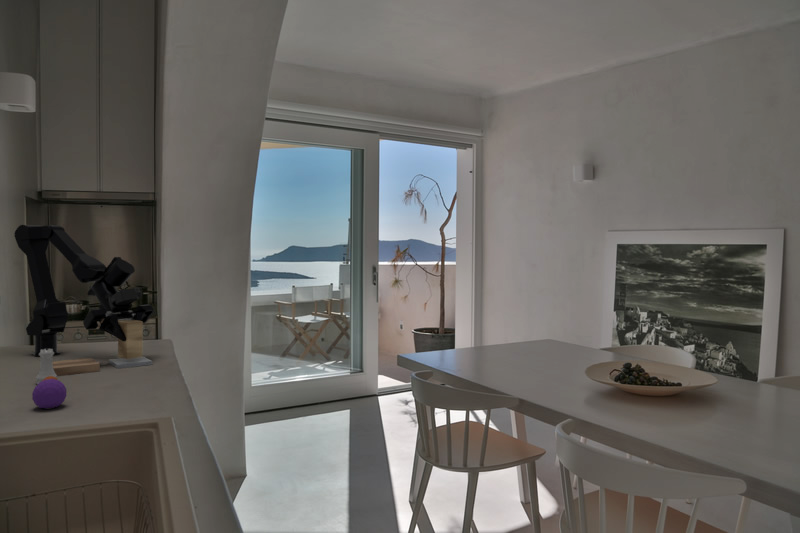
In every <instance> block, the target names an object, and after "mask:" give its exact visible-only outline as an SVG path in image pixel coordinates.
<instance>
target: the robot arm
mask: <svg viewBox="0 0 800 533" xmlns="http://www.w3.org/2000/svg"><path fill="white" fill-rule="evenodd" d="M14 238H15V241H16V244H17V247H18V248H19V249H20V250H21V251H22V252H23V253H24V255H26V260H27V263H28V267H29V273H30V277H31V282H32V286H33V290H34V294H35V299H36V303H35V305H34V308H33V311H32V314H33V319H32V320H31V322H30V323H29V324H28V325H27V327H26V328H25V330H26V335H27V336H33V337H34V351H32V352H31V354H32V355H33V356H34V357H40V356H39V353H40V350H41V349H46V350H48V349H50V350H51V349H53V352H54V355H61V352H60V351H59V350H58V334H59V333H64V331H65V329H66V325H67V323H68V321H69V320H68V316H69V312H68V311H67V304H66V303H65V302H64V301H61V302H60V300H58V298H57V296H56V292H55V288H54V283H53V279H52V275H51V270H50V266H49V262H48V257H47V251H48V248H49V245H50V243H51V244H52V245H53V247H55V248H56V249H57V250H58V251H59V252H60V254H62V256H63V257H64V258H65V259H66V260H67V261H68V262H69V264H70V265H71V267H72V268H71V269H72V273H73V274H74V276H75V277H76V279H77V280H78V281H79V282H80V283H82V284H86V283H87V284H88V283H93V284H92V285H91V286H89V289H88V291H87V296H91V297H92V296H93V297H95V298H96V299H97V301H98V303H99V305H98V308H94V309H90V310H89V312H88V314H87V315H86V317H85V318H84V319H83V321H82V322H83V324H82V325H83V326H84V328H85V330H96V329H97V328H98V326H99V325H100V326H99V328H98V329H99V331H104V333H107V334H110V335H112V336H113V337H115V338H117V340H118V339H120V340H122V341H124V342H125V341H126V336H125V334H124V332H123V330H122V328H121V327H120V325H119V323H118V321H125V320H126V321H128V320H137V321H143V324H146V323H147V322H148V321H149V319H150V318H151V316H152V315H153V313H154V312H155V311H156V310H155V308H154V307H153V306H152V305H151V304H143V305H141V304H140V305H137V306H136V308H135V309H134V310H130V309H132V307H133V303H134V302H135V301H138V300H139V299H141V298H142V297H143V293H142V290H141V289H140V288H139V287H132V288H124V289H120V290H118V288H117V287H122V286H124V284H126V282H127V281H128V280H129V279H130V278H131V277H132V276H133V275H134V273H135V271H136V269H135V267H134V265H133V264H131V263H130V262H128V261H127V260H124V259H122V258H121V256H114V257H113V258H112V260H111V262H110V263H109V264H108V265H107V266H106V264H104V263H102V261H100V260H98V259H97V258H95V257H93V256H90V255H88V254H87V253H86V252H85V250H83V249H82V248H81V247H80V245H78V243H76V241H74V239H73V238H72V237H71V236H70V235H69V234H68V233H67V232H66V230H65V228H64V227H63V226H61V225H53V224H47V225H39V224H37V225H36V224H35V225H33V224H20V225H18V227H17V228H16V230H15V231H14ZM98 322H99V324H98ZM54 355H53V356H54Z"/></svg>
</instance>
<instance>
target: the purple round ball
mask: <svg viewBox="0 0 800 533" xmlns="http://www.w3.org/2000/svg"><path fill="white" fill-rule="evenodd" d="M31 396H32V398H31V399H32V401H33V403H34V405H35V406H37V407H38V408H40V409H42V408H45V409H44V410H48V409H47V408H53V409H55V408H54V407H56V408H57V407H60V406H61V405H62V404H63V403H64V401H65V400H66V397H67V388H66V386H65V384H64V383H63V382H62V381H60V380H58V378H57V377H53V376H48V377H46V378H45V379H43V381H42V382H40V383H39V384H37V385H36V386H34V388H33V391H32V395H31Z"/></svg>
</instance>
